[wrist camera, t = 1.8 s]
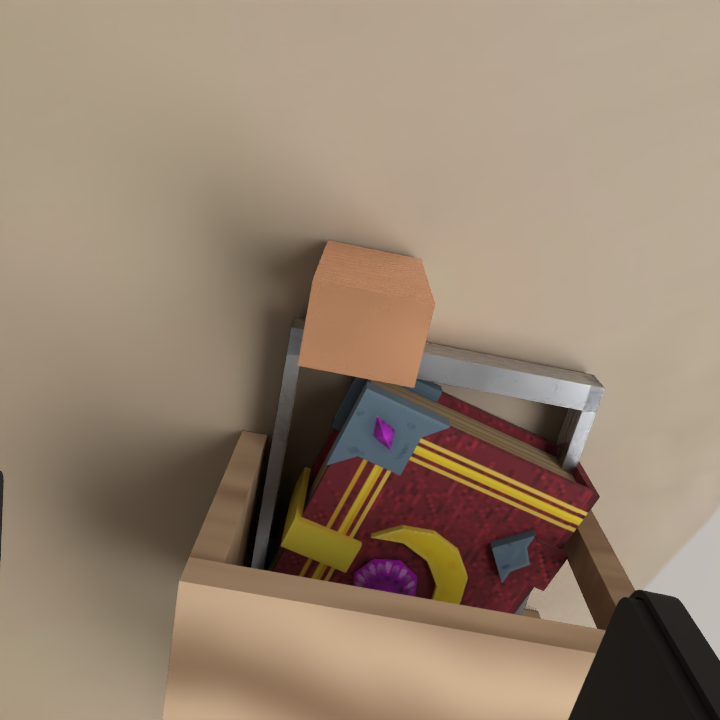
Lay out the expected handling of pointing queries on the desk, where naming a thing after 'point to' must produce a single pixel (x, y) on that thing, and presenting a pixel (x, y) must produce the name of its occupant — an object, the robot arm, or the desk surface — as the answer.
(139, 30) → the desk surface
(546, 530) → the decorative book
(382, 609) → the wooden arch stand
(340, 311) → the tray
